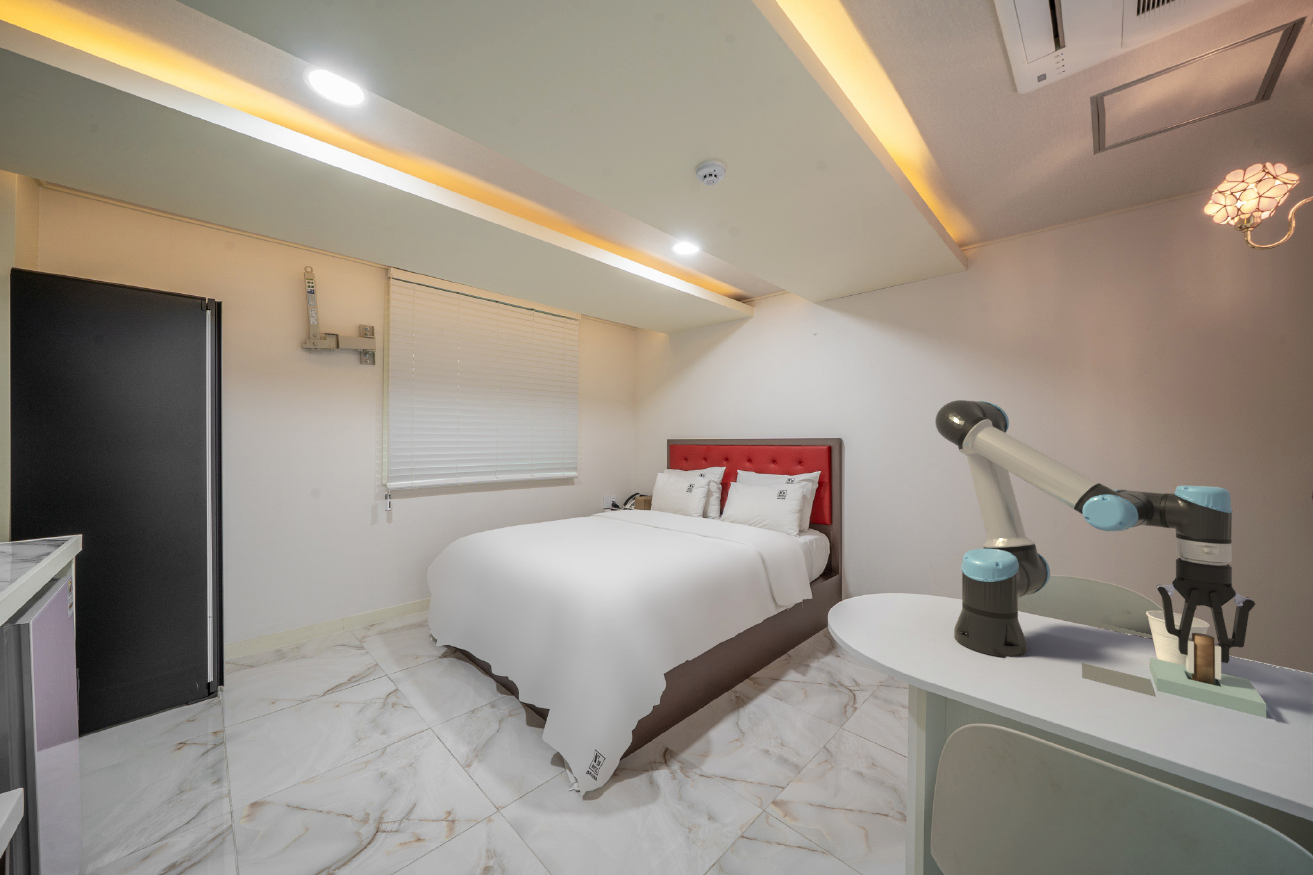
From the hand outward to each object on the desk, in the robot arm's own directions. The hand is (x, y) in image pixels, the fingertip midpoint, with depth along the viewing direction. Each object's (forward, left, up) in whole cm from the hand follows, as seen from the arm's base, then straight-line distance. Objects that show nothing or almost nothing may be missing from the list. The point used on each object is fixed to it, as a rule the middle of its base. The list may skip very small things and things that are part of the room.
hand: (1203, 673), depth 96 cm
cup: (-2, +14, -4) cm, 15 cm away
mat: (-13, -5, -4) cm, 15 cm away
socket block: (0, 0, -4) cm, 4 cm away
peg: (0, 0, -4) cm, 4 cm away
